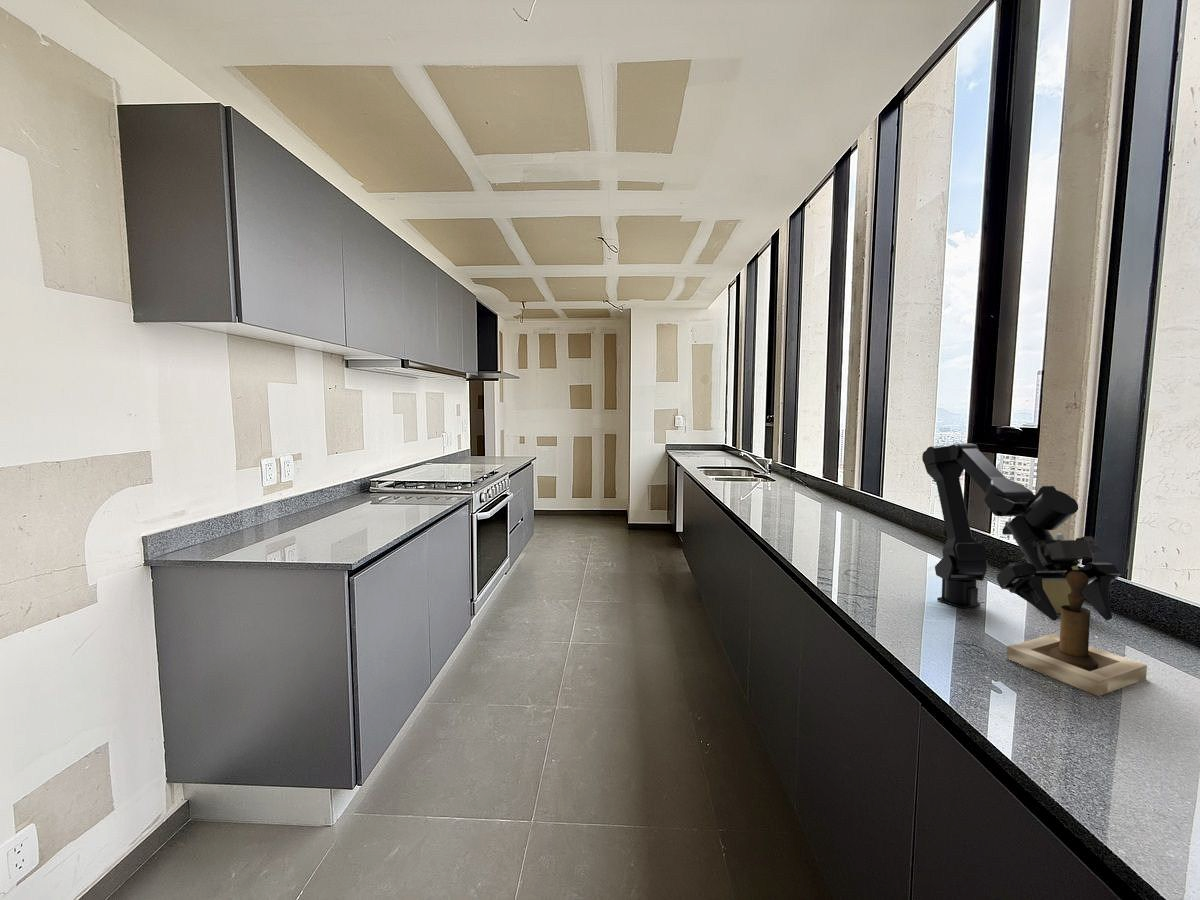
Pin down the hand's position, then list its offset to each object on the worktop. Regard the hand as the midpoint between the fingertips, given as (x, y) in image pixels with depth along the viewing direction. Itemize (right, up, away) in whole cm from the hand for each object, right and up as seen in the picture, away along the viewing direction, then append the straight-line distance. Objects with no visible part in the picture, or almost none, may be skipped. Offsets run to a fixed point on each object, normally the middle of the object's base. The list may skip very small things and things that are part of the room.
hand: (1082, 619), depth 93 cm
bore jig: (0, -10, +2) cm, 10 cm away
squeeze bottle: (+21, -7, +29) cm, 37 cm away
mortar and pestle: (0, -10, +2) cm, 10 cm away
